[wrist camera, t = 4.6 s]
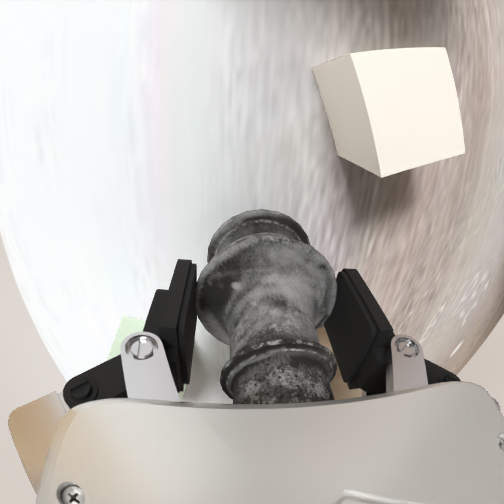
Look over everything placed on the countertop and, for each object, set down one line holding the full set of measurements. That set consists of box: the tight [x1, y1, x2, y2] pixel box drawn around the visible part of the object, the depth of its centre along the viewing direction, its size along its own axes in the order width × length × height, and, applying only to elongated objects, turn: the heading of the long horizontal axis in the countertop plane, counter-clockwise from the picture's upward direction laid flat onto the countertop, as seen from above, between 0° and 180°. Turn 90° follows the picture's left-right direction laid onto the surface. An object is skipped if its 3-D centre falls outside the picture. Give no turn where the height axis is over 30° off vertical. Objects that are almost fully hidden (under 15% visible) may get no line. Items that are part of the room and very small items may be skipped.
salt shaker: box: [195, 209, 337, 404], centre depth 9 cm, size 6×6×12 cm
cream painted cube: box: [312, 47, 465, 178], centre depth 11 cm, size 5×5×5 cm
